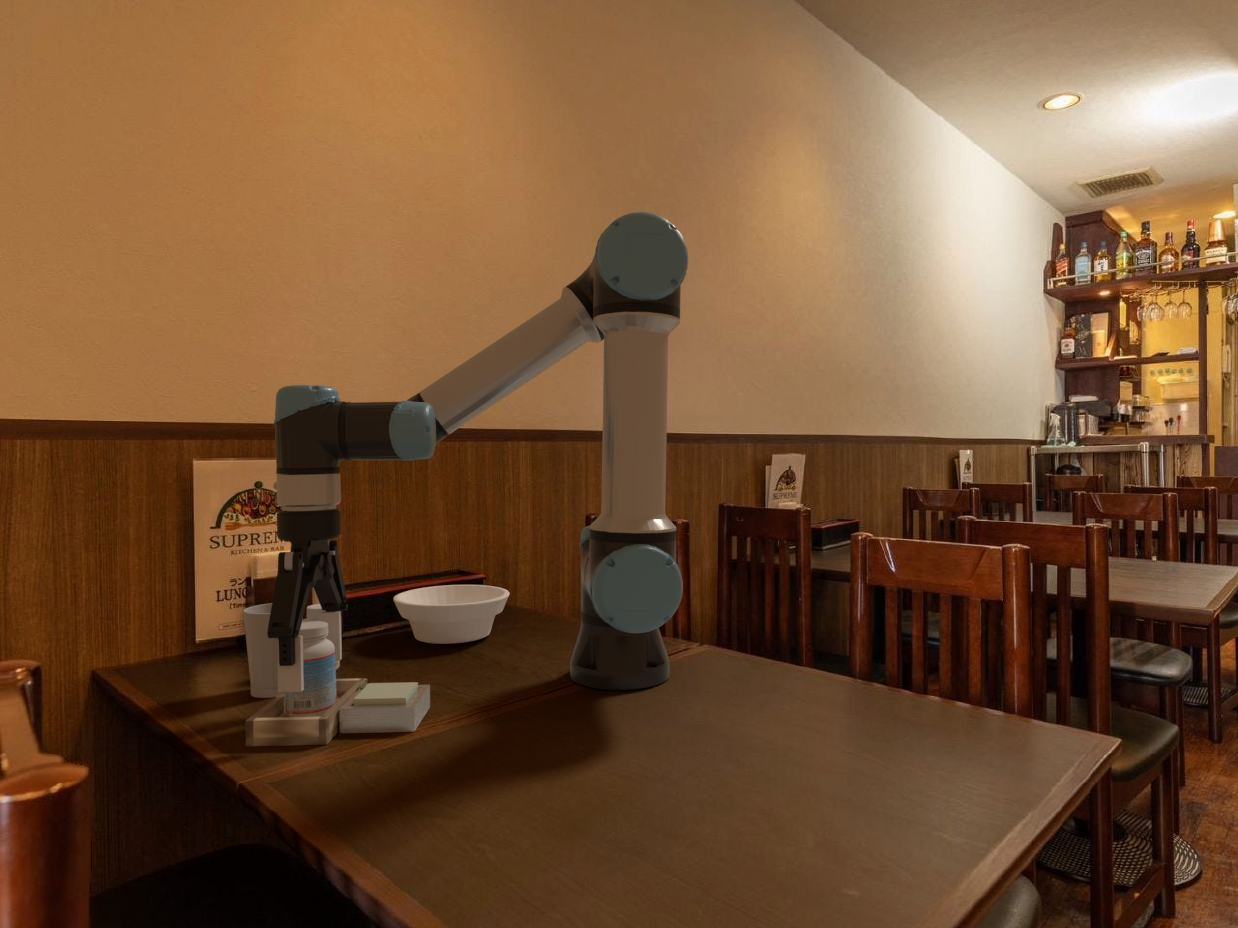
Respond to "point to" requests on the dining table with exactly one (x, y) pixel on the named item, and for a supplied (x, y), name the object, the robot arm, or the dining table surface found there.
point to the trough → (298, 721)
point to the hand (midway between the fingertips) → (312, 674)
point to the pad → (386, 694)
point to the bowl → (451, 611)
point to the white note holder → (384, 714)
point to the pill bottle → (314, 674)
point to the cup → (261, 652)
